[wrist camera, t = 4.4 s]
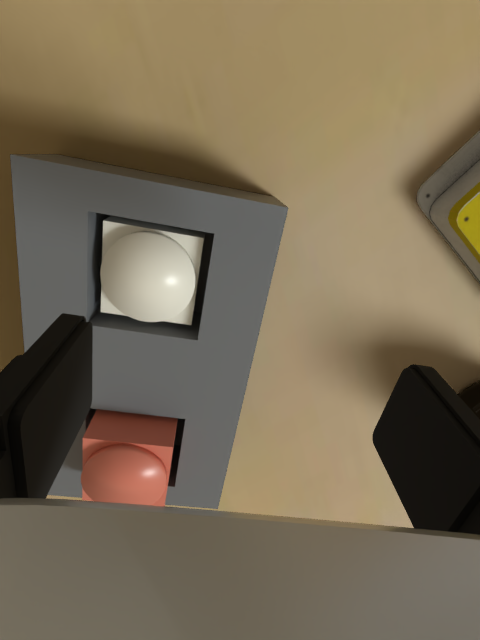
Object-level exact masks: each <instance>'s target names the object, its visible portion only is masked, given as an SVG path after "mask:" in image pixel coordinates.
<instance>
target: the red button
mask: <svg viewBox="0 0 480 640" xmlns="http://www.w3.org/2000/svg"><path fill="white" fill-rule="evenodd" d="M177 420H178V418H171V417H163V416H154V415H145V414H136V413H127V412H118V411H109V410H101V409H97V410H96V412H95V414H94V416H93V418H92V420H91V422H90V424H89V426H88V428H87V430H86V432H85V434H84V436H83V470H82V474H81V484H82V500H89V501H97V502H112V503H127V504H141V505H153V506H165V500H166V494H167V488H168V482H169V475H170V469H171V462H172V455H173V448H174V441H175V434H176V427H177Z"/></svg>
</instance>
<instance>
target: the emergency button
mask: <svg viewBox="0 0 480 640" xmlns="http://www.w3.org/2000/svg"><path fill="white" fill-rule="evenodd" d="M417 203H418V205H419V207H420V209H421V210H422V211H423V213H424V214H425V215H426V216H427V218H428V219H429V220H430V222H431V223H432V224H433V225H434V227H435V228H436V229H437V230H438V232H439V233H440V234H441V235H442V237H443V238H444V239H445V241H446V242H447V243H448V244H449V246H450V247H451V248H452V249H453V251H454V252H455V253H456V254H457V256H458V257H459V258H460V260H461V261H462V262H463V263H464V265H465V266H466V267H467V268H468V270H469V271H470V272H471V274H472V275H473V276H474V277H475V279H476V280H477V281H478V282H479V284H480V130H479V131H478V132H477V133H476V134H475V135H474V136H473V137H472V138H471V139H470V140H469V141H468V142H466V143H465V144H464V145H463V146H462V147H461V148H460V149H459V150H458V151H457V152H456V153H455V154H454V155H453V156H451V157H450V158H449V159H448V160H447V161H446V162H445V163H444V164H443V165H442V166H441V167H440V168H439V169H438V170H437V171H435V172H434V173H433V174H432V175H431V176H430V177H429V178H428V179H427V180H426V181H425V182H424V183H423V184H422V185H421V187H420V188H419V190H418V191H417Z"/></svg>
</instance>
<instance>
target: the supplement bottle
mask: <svg viewBox="0 0 480 640" xmlns="http://www.w3.org/2000/svg"><path fill="white" fill-rule="evenodd" d="M459 397H460V398H461V399H462V400H463V401H464V402H465V404H466V405H467V406H468V407H469V408H470V409H471V410H472V411H473V412H474V414H475V415H476V416H477V417H478V418H479V419H480V382H479V383H476V384H474V385H472V386H470V387H469V388H467V389H466V390H464V391H463V392H462V393H461V394H460V395H459Z"/></svg>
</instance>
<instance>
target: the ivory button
mask: <svg viewBox="0 0 480 640" xmlns="http://www.w3.org/2000/svg"><path fill="white" fill-rule="evenodd" d="M204 237H205V232H202V231H197V230H191V229H185V228H180V227H174V226H168V225H163V224H157V223H152V222H146V221H140V220H135V219H129V218H124V217H118V216H110V217H108V218H107V219H105V220H103V243H102V264H101V270H100V277H101V312H104V313H111V314H117V315H124V316H129V317H131V318H133V319H136V320H139V321H144V322H159V321H166V322H173V323H179V324H186V325H191V324H192V318H193V312H194V306H195V299H196V292H197V285H198V279H199V272H200V265H201V258H202V251H203V244H204Z"/></svg>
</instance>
